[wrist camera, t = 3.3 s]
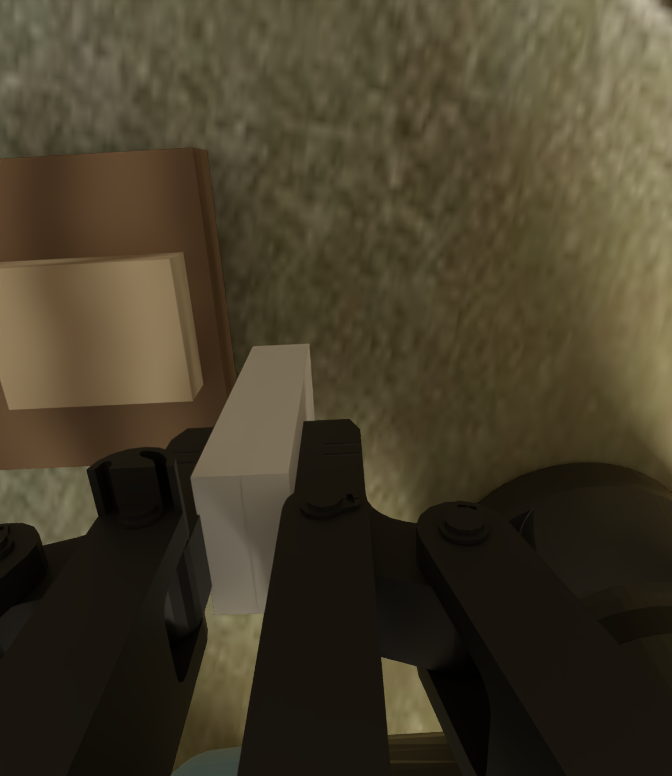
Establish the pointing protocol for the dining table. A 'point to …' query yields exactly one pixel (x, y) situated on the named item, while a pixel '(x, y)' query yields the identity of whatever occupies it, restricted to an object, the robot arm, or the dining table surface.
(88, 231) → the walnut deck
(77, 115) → the dining table surface
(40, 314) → the birch tile
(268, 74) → the dining table surface
